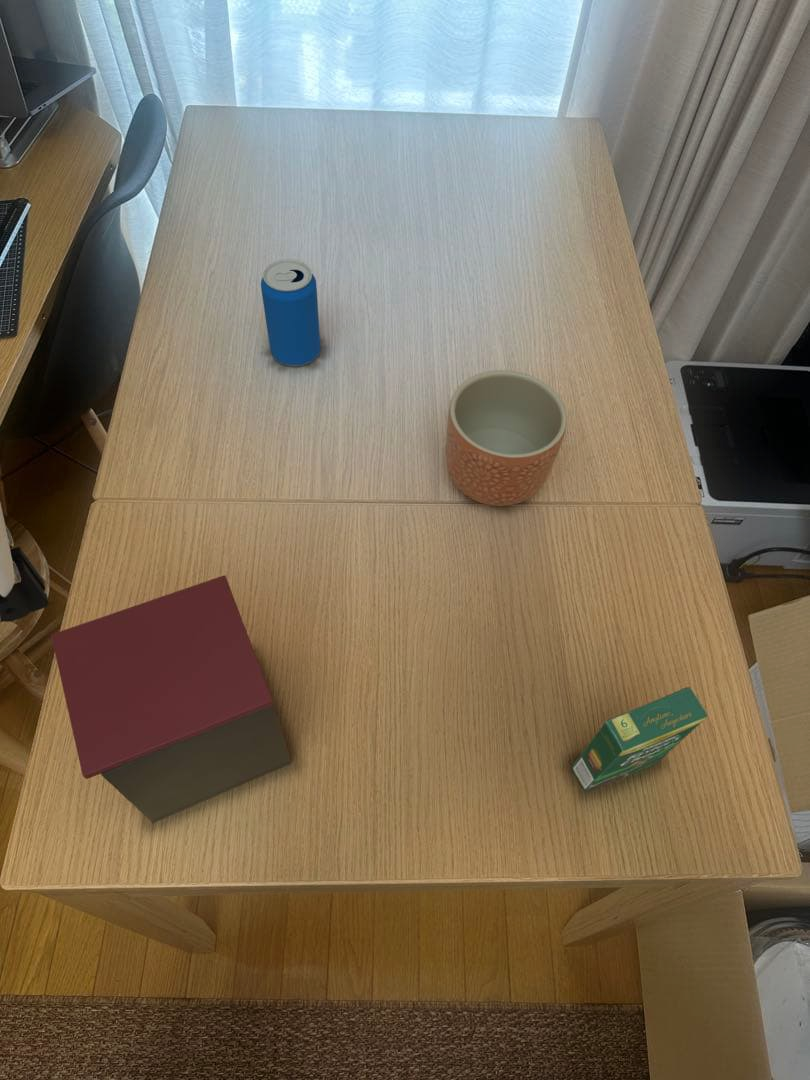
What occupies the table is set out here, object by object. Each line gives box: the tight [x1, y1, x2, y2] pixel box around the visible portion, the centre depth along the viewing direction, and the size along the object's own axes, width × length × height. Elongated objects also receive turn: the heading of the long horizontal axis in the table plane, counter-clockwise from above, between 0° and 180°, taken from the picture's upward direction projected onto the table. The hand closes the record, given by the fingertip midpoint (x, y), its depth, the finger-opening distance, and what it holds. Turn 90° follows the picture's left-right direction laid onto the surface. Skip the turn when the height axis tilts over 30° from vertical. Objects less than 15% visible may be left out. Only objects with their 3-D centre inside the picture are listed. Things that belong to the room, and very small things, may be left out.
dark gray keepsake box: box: [100, 703, 292, 824], centre depth 62 cm, size 13×12×15 cm
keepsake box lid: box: [50, 574, 275, 780], centre depth 55 cm, size 14×12×1 cm
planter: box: [444, 369, 568, 507], centre depth 81 cm, size 12×12×11 cm
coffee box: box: [570, 686, 708, 794], centre depth 62 cm, size 8×3×13 cm, turn 111°
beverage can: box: [260, 258, 322, 367], centre depth 91 cm, size 6×6×12 cm
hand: (19, 603), depth 42 cm, fingers closed
